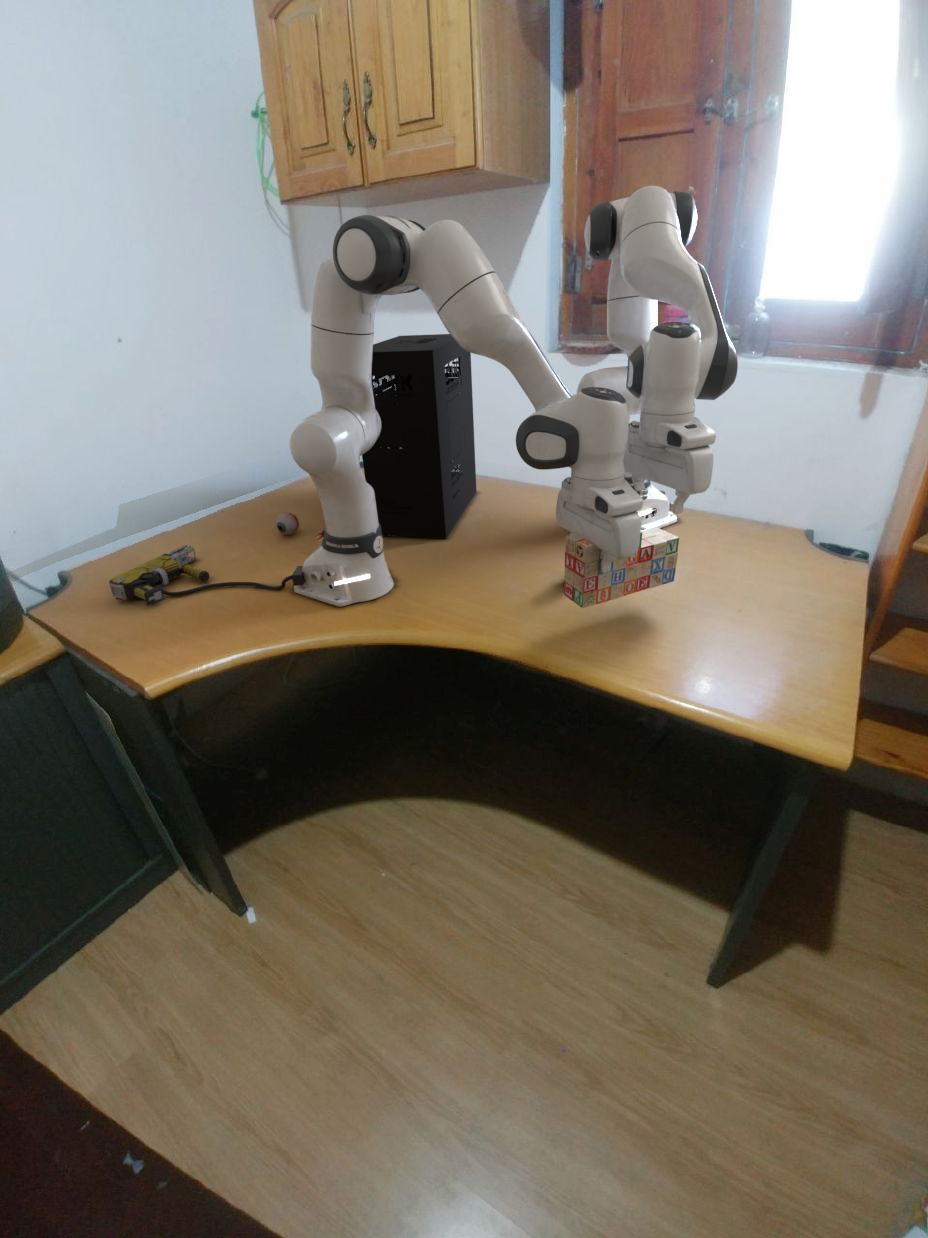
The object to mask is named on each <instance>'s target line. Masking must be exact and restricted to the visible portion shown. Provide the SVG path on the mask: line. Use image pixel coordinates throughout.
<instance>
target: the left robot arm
mask: <svg viewBox="0 0 928 1238" xmlns="http://www.w3.org/2000/svg"><path fill="white" fill-rule="evenodd" d="M419 290H421V291H422V292H423V293H424V295H425V296H426V297H427V299H428V300H429V302H430V303H431V305H432V307H433V309H434V310H435V312H436V314H437V316H438V317H439V319H440V321H441V323H442V325H443V326H444V328H445V329H446V331H447V332H448V334H450V335H451V336H452V337H453V338H454V340H455V341H456V342H457V343H458V344H459V345H460V346H461V347H462V348H463V349H464V350H466V351H468V352H471V354H474V355H478V356H481V357H486V358H488V359H491V360H493V361H495V362H498V363H499V364H501V366H503V367H505V368H506V369H507V370H508V371H509V372H510V373H511V375H512V376H513V377H514V379H515V380H516V382H517V383H518V385H519V386H520V387H521V389H522V391H523V392H524V394H525V395H526V397H527V399H528V400H529V401H530V403H531V404H532V406H533V408H534V412H533V413H531V414H530V415H528V416H527V417H526V418H525V419H524V420H523V421H522V422H521V423H520V424H519V427H518V428H517V430H516V434H515V446H516V450H517V453H518V455H519V457H520V458H521V460H522V461H523V462H524V463H525V464H526V465H528V466H529V467H531V468H532V469H536V470H541V471H543V470H546V471H547V470H556V469H564V468H570V476H567V477H566V478H564V479H563V480H562V481H561V486H560V487H561V488H560V490H559V492H558V494H557V499H556V506H555V520H556V521H555V522H556V523H557V525H558V526H559V527H561V528H563V529H564V530H567V531H568V532H569V533H570V534H569V535H571V534H577V535H579V536H581V537H582V538H584V539H586V540H587V541H588V542H590V543H592V544H593V545H595V546H596V547H597V548H599V549H601V550H602V555H603V556H604V558H603V560H602V561H598V570H600V571H601V572H603V573H606V572H609V571H610V570H611V562H612V561H613V560H614V559H615V558H616V559H619V560H620V559H625V558H629V557H632V556H634V555H635V554H636V553H637V551H638V548H639V542H640V531H641V519H640V515H639V514H638V512H637V511H638V510H641V509H642V507H643V499H642V497H641V496H640V495H639V494H638V493H637V492H636V491H635V490H634V489H633V488H632V487H631V486H630V485H629V483H628V482H627V481H626V480H625V479H624V476H625V468H624V462H623V459H624V454H625V451H626V449H627V442H628V406H627V402H626V400H625V398H624V397H623V396H622V395H621V394H619V393H617V392H616V391H614V390H611V389H607V388H601V387H587V388H583V389H581V390H580V391H579V392H578V393H577V392H576V393H575V394H574V393H573V392H572V391H570V390H569V388H568V387H566V385H565V384H564V383H563V381H562V380H561V378H560V376H559V375H558V373H557V372H556V370H555V369H554V367H553V365H552V364H551V362H550V361H549V359H548V358H547V356H546V354H545V353H544V351H543V350H542V348H541V347H540V345H539V343H538V342H537V340H536V339H535V338H534V336H533V335H532V333H531V332H530V330H529V329H528V328H527V327H528V326H526V324H525V322H524V321H523V319H522V317H521V316H520V314H519V312H518V311H517V308H516V307H515V305H514V303H513V301H512V300H511V298H510V296H509V294H508V292H507V290H506V288H505V287H504V284H503V283H502V281H501V279H500V278H499V276H498V274H497V272H496V271H495V269H494V267H493V264H491V262H490V260H489V259H488V257H487V255H486V254H485V252H484V251H483V250H482V248H481V247H480V245H479V244H478V242H476V240H475V239H474V238H473V236H472V235H471V233H469V231H468V230H467V229H466V227H464V226H463V225H462V224H461V223H460V222H458V221H456V220H453V219H441V220H438V221H436V222H433V223H432V224H430V225H428V226H427V227H424V226H423V225H422V224H420V223H418V222H417V221H414V220H411V219H405V218H403V217H399V216H395V215H371V214H361V215H357V216H354V217H351V218H350V219H348V220H346V221H345V222H344V223H343V224H341V226H340V227H339V229H338V230H337V232H336V234H335V236H334V239H333V244H332V256H329V257H327V258H325V259H324V260H322V261H321V262H320V263H319V265H318V267H317V270H316V274H315V279H314V285H313V292H312V298H311V314H310V365H309V366H310V371H311V373H312V375H313V377H314V378H315V379H316V380H317V383H318V386H319V390H320V393H321V394H320V396H321V408H320V410H318V411H316V412H314V413H312V414H309V415H307V416H306V417H305V418H304V419H303V420H302V421H301V422H300V423H299V424H298V425H297V426H296V427H295V428H294V430H293V431H292V432H291V435H290V438H289V450H290V454H291V456H292V459H293V461H294V462H295V463H296V464H297V466H298V467H299V468H300V469H302V470H303V471H305V473H307V474H308V475H309V477H310V478H311V480H312V482H313V484H314V487H315V489H316V491H317V493H318V497H319V500H320V504H321V510H322V514H323V519H324V525H325V528H323V529H322V530H321V532H319V533H318V534H317V535H315V536H316V537H317V538H316V540H317V541H319V540H321V539H322V542H321V545H320V546H319V547H318V548H316V549H315V551H313V552H312V553H311V554H310V555H309V556H308V557H307V558H306V559H305V560H304V562H303V563H302V565H297V566H296V568H295V570H294V571H293V572H292V574H291V575H288V576H286V577H285V578H284V579H282V580H281V584H280V585H277V586H270V585H267V584H264V583H259V582H254V581H226V582H225V581H224V582H217V583H216V582H215V583H209V584H203V585H200V586H197V587H194V588H189V589H186V590H181V591H168V590H165V589H163V588H162V590H163V595H164V596H169V597H181V596H186V595H189V594H193V593H198V592H200V591H201V592H202V591H205V590H208V589H209V590H210V589H215V588H222V587H223V588H224V587H255V588H260V589H263V590H269V591H281V590H284V589H285V588H286V585H287V583H288V582H289V581H292V583H293V592H294V593H296V594H299V595H302V596H304V597H308V598H310V599H314V600H316V601H320V602H323V603H326V604H329V605H332V606H335V607H338V608H339V607H346V606H349V605H352V604H355V603H363V602H367V601H371V600H376V599H378V598H381V597H383V596H384V595H387V594H388V593H389V592H390V591H391V590H392V589H393V588H394V585H395V582H394V579H393V578H392V575H391V573H390V570H389V568H388V564H387V561H386V557H385V553H384V536H382V530H381V525H380V524H379V523H378V515H377V507H376V500H375V492H374V490H373V488H372V486H371V485H369V484H368V483H367V482H366V480H365V475H364V472H363V471H362V467H361V464H360V462H361V461H360V459H361V458H360V457H362V455H363V454H364V453H366V452H367V451H368V450H370V449H371V448H372V446H373V445H374V443H375V442H376V440H377V439H378V437H379V435H380V432H381V419H380V416H379V414H378V412H377V410H376V409H375V403H374V396H373V389H372V354H373V344H374V334H375V318H376V317H375V316H376V308H377V305H378V303H379V301H380V300H381V298H382V297H384V296H395V295H400V294H410V293H413V292H417V291H419Z"/></svg>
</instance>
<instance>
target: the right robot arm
mask: <svg viewBox="0 0 928 1238" xmlns="http://www.w3.org/2000/svg"><path fill="white" fill-rule="evenodd" d="M697 221H698V212H697V207H696V200H695V199H694V196H693V195H692V194H691V193H689V192H686V191H678V190H674V191H673V192H669V191H668V190H667V189H665V188H663V187H662V186H659V185H645V186H643V187H640V188H639V189H637V190H636V191H634V192H633V193H632V194H631V195H630V196H627V197H623V198H618V199H615V200H611V201H610V200H608V199H607V200H605V201H601V202H599V203H597V204H595V205H594V206H592V208H591V209H590V210H589V212H588V216H587V219H586V221H585V225H584V230H583V231H584V232H583V235H584V236H583V238H584V244H585V247H586V249H587V251H588V252H587V253H588V255H589V256H590V257H591V258H592V259H593V260H595V261H599V262H608V260H611V261H610V262H611V263H610V267H609V273H608V282H607V292H606V293H607V295H606V301H607V302H606V336H607V339H608V341H609V342H610V343H611V345H612V346H614V347H615V348H617V349H620V350H622V351H623V352H624V354H625V355H626V357H627V365H623V366H613V367H612V366H611V367H602V368H599V369H596V370H593V371H590V372H587V373H585V374H583V376H582V377H581V379H580V381H579V383H578V385H577V388H576V394H577V393H578V392H579V391H580V390H581V389H583V388H587V387H601V388H607V389H611V390H614V391H616V392H617V393H619V394H621V395H622V396H623V397H624V398H625V400H626V402H627V406H628V442H627V449H626V451H625V454H624V459H623V462H624V468H625V476H624V479H625V480H626V481H627V482H628V483H629V485H630V486H631V487H632V488H633V489H634V490H635V491H636V492H637V493H638V494H639V495H640V496H641V497H642V499H643V507H642V509H641V510H638V511H637V512H638V514H639V515H640V519H641V531H646V530H650V529H654V528H659V529H662V528H665V527H668V526H670V525H672V524H675V523H677V522H678V516H677V515H680V514H682V513H683V512H684V505H685V503H686V502H687V500H688V499H689V498H690V496H691V495H698V494H701V493H705V492H706V491H707V490H708V489H709V488H710V486H711V482H712V477H713V471H714V469H713V468H714V451H713V449H712V447H711V445H714V444H715V442H716V437H717V433H716V431H714V430H713V429H712V428H711V427H709V426H708V425H706V424H705V423H704V422H703V421H701V420H700V419H699V418H698V417H697V416H695V414H696V404H695V400H702V401H703V400H704V401H715V400H716V399H718V398H720V397H721V396H722V395H724V394H725V393H726V392H727V391H728V390H729V389H730V388H731V387H732V386H733V385H734V384H735V381H736V378H737V376H738V365H739V363H738V355H737V351H736V348H735V346H734V344H733V342H732V341H731V339H730V337H729V335H728V333H727V331H726V327H725V325H724V321H723V318H722V315H721V312H720V309H719V305H718V302H717V299H716V295H715V293H714V289H713V286H712V283H711V281H710V278H709V275H708V273H707V271H706V269H705V267H704V265H702V263H700V262H698V261H696V260H695V259H694V258H693V257H692V256H691V255H690V253H689V252H688V251H687V249H686V247H687V246H688V245H689V244H690V243H691V241H692V239H693V237H694V233H695V231H696V227H697V223H698V222H697ZM659 302H662V303H665V304H669V305H672V306H675V307H676V308H678V309H680V310H682V311H683V312H684V313H685V314H686V316H687V317H688V319H689V322H683V321H668V322H663V323H660V324H659V323H658V321H659V320H658V318H659V317H658V314H659V313H658V306H659V305H658V303H659ZM634 415H639V421H637V420H632V421H630V420H631V419H630V418H631V416H634ZM651 482H653V483H656V484H658V485H662V486H665V487H668V488H671V489H673V490H675V492H674V495H675V496H676V499H675V500H674V501H672V502H670V501H669V498H668V497H667V496H666V491H664V490H660V489H658V488H656V487H655V486H654V485H652V483H651ZM669 502H670V503H669Z"/></svg>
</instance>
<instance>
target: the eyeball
mask: <svg viewBox="0 0 928 1238" xmlns="http://www.w3.org/2000/svg"><path fill="white" fill-rule="evenodd" d="M299 525H300V522H299V519H298V517H297V516H296V515H295V514H294V513H292V512H287V511H286V512H282V513H280V514H279V515H278V516H277V517H276V520H275V527H276V529H277V530H278V531H279V532H280V533H281V534H282V535H285V536H286V535H287V536H289V535H293V534H295V533H296V532H297V531H298V529H299Z"/></svg>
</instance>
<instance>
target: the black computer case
mask: <svg viewBox="0 0 928 1238" xmlns="http://www.w3.org/2000/svg"><path fill="white" fill-rule="evenodd" d="M471 354H472V353H471V352H468V351H466V350H464V349H463V348H462V347H461V346H460V345H459V344H458V343H457V342H456V341H455V340H454V338H453V337H452V336H451V335H450V333H440V334H439V333H437V334H413V335H412V334H410V335H398V336H395V337H392V338H389V339H385V340H383V341H380V342H377V343H373V354H372V389H373V396H374V403H375V409H376V410H377V412H378V414H379V416H380V419H381V432H380V435H379V437H378V439H377V440H376V442H375V443H374V445H373V446H372V448H371V449H370V450H368V451H367V452H366V453H364V454H363V455H361V458H362V465H363V475H364V478H365V480H366V482H367V483H368V484H369V485H371V486H372V488H373V490H374V492H375V500H376V507H377V515H378V523H379V524H380V525H381V530H382V537H398V538H399V537H400V538H423V539H424V538H425V539H443V540H444V539H445V540H446V539H447V538H448V537H449V535H450V533H451V532H452V530H453V529H454V528H455V526H456V524H457V523H458V521H459V520H460V518H461V517H462V515H463V514H464V512H465V511H466V509H467V507H468V506H469V505H470V503H471V502H472V500H473V498H474V497H475V495H476V494H477V471H476V470H477V469H476V448H475V446H476V445H475V426H474V424H475V423H474V422H475V421H474V401H473V377H472V355H471ZM450 364H451V365H450Z"/></svg>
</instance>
